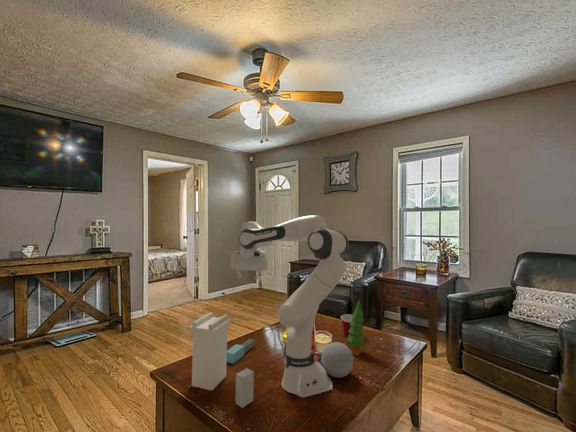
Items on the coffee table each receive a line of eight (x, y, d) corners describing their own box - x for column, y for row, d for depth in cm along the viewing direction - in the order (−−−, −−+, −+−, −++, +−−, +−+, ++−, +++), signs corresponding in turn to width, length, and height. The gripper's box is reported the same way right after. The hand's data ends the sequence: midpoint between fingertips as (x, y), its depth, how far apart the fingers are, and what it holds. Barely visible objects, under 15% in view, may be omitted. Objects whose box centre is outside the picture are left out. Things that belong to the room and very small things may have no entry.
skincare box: (246, 396, 121) (246, 367, 121) (253, 401, 118) (254, 371, 118) (234, 403, 116) (235, 373, 116) (242, 408, 114) (242, 377, 114)
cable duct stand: (206, 370, 140) (208, 311, 140) (229, 375, 137) (230, 315, 137) (188, 386, 127) (189, 321, 127) (212, 392, 123) (214, 325, 123)
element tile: (306, 346, 170) (307, 337, 170) (281, 343, 173) (281, 335, 173) (309, 335, 185) (310, 328, 185) (286, 333, 188) (286, 325, 188)
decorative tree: (365, 357, 158) (367, 301, 157) (348, 356, 158) (349, 300, 158) (361, 349, 167) (362, 296, 167) (344, 348, 168) (346, 295, 167)
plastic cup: (339, 338, 181) (339, 319, 181) (341, 332, 191) (341, 313, 191) (357, 341, 178) (357, 321, 178) (358, 334, 188) (358, 315, 188)
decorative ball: (353, 370, 144) (355, 339, 144) (351, 387, 130) (353, 353, 130) (323, 365, 148) (324, 335, 148) (317, 380, 134) (319, 347, 134)
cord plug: (247, 344, 169) (247, 335, 169) (255, 346, 167) (255, 337, 167) (225, 361, 149) (225, 351, 149) (233, 364, 147) (233, 354, 147)
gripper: (228, 251, 155) (227, 277, 155) (264, 254, 149) (263, 281, 149) (233, 250, 161) (233, 275, 161) (268, 252, 155) (268, 278, 155)
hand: (248, 278), depth 155 cm, fingers open, 8 cm apart
